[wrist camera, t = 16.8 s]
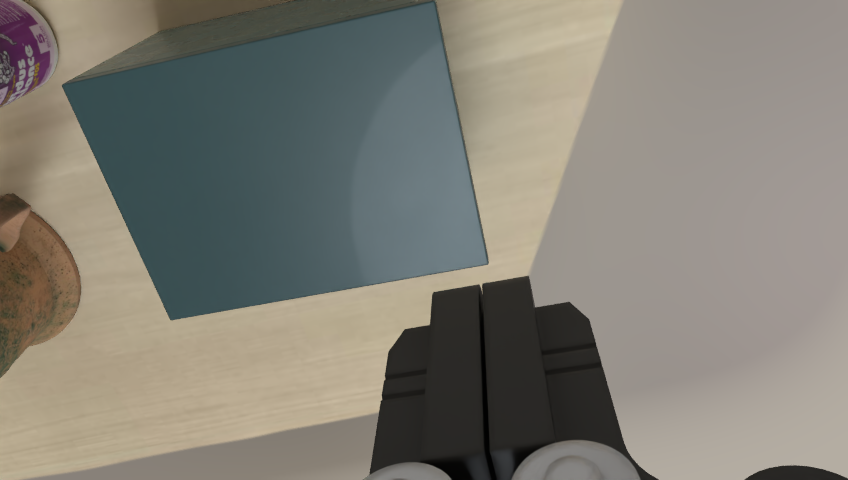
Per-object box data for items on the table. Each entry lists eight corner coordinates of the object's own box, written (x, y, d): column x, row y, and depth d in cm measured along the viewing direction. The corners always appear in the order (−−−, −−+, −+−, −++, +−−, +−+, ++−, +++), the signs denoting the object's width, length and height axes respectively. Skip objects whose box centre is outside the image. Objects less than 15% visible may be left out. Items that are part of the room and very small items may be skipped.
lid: (435, -4, 27) (434, 0, 26) (488, 256, 32) (489, 265, 32) (69, 79, 29) (60, 84, 28) (175, 311, 34) (170, 321, 34)
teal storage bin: (423, -30, 36) (415, 1, 27) (466, 177, 41) (471, 259, 33) (157, 31, 38) (70, 79, 29) (231, 222, 43) (176, 311, 34)
